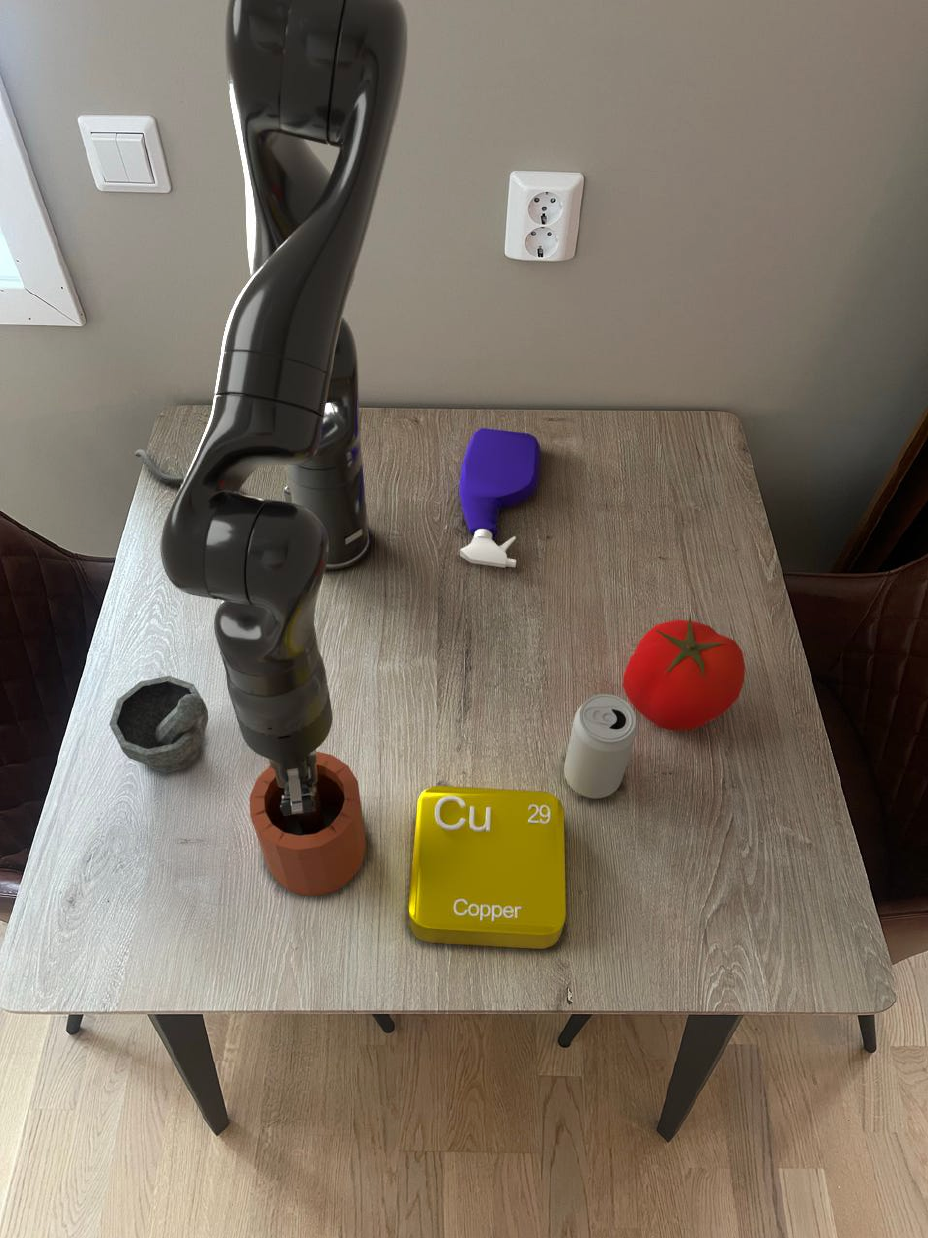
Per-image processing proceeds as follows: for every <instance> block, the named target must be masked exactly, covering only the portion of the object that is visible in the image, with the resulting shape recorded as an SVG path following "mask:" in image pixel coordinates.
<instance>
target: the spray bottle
mask: <svg viewBox="0 0 928 1238" xmlns="http://www.w3.org/2000/svg"><path fill="white" fill-rule="evenodd" d="M541 457H542V456H541V446H540V443H539V442H538V439H537V437H536V436H534V435H532V434H530V433H528V432H521V431H520V432H519V431H511V430H504V429H503V430H502V429H494V428H485V427H481V428H479V429H477V430H476V431H475V432H474V433H473V434H472V436H471V438H470V440H469V443H468V445H467V448H466V452H465V455H464V458H463V461H462V464H461V469H460V477H459V489H458V490H459V492H458V494H459V499H460V504H461V508H462V513H463V516H464V520H465V523H466V526H467V529H468V532H469V534H470V535H471V537H472V540H471V541H470V543H468V544H467V545H466V546H464V547H462V548H460V550H459V557H461V558H463V559H464V560H466V561H467V562H469V563H470V564H477V565H484V566H492V567H497V568H506V567H510V568H516V565H517V562H518V561H517V559H515V558H509V557H508V554H507V550H508V549H509V548H510V546H511V545H512V543H513V542H515V540H516V539H517V537H516V536H514V535H513V536H512V537H510V538H509V539H508V540H507V541H505V542H504V543H502V544H500V545H498V544H496V542H495V541H494V540H493V539H494V538H496V537H497V536H499V530H498V528H497V524H498V523H499V519H498V516H499V510H504V509H507V508H510V507H513V506H515V505H518V504H519V505H520V504H521V503H524V502H525V501H527V500H528V499H530V498H531V496H532V495H533V494H534V493H535V492H536V490H537V487H538V483H539V481H540V472H541V471H540V468H541V459H542V458H541Z"/></svg>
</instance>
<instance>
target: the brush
mask: <svg viewBox="0 0 928 1238" xmlns="http://www.w3.org/2000/svg"><path fill="white" fill-rule="evenodd" d="M308 765H309V763H308ZM314 787H316V792H315V796H316V800H317V810H316V811H314V812H313V814H307V815H300V816H298V815H297V814H293V815H291V816H290V817H289V819H288V821H287V823H286V827H285V833H288V834H293V835H297V836H304V835H310V834H316V833H318V832H320V831H322V830H323V829H325V828H327V827H329V826H330V825H331V824H332V823H333V822H334V821H335V819H336V818H337V817H338V816H339V815H338V813H337V812H336V811H335V810H334V809H333V808H332V807H330V806H328V805H326V804H322V803H321V802H320V797H319V792H318V787H317V783H314Z"/></svg>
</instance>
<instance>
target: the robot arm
mask: <svg viewBox="0 0 928 1238" xmlns="http://www.w3.org/2000/svg"><path fill="white" fill-rule="evenodd" d="M224 35H225V36H224V37H225V38H224V40H225V41H224V48H225V49H224V51H225V66H226V67H225V68H226V77H227V87H228V92H229V98H230V105H231V111H232V116H233V121H234V122H233V123H234V127H235V130H236V138H237V143H238V146H239V153H240V159H241V164H242V169H243V177H244V190H245V220H246V221H245V223H246V227H245V228H246V246H247V256H248V267H249V275H250V279H249V281H248V282H247V284H246V285H245V286H244V288H242V291H241V293H240V294H239V295H238V296H237V299H236V300H235V303H234V305H233V308H232V309H231V310H230V311H231V312H230V314H229V317H228V320H227V323H226V327H225V331H224V335H223V339H222V346H221V352H220V354H221V355H220V359H219V365H218V371H217V376H216V383H215V389H214V397H213V401H212V406H211V412H210V416H209V419H208V423H207V425H206V428H205V430H204V433H203V435H202V437H201V440H200V443H199V445H198V448H197V450H196V452H195V455H194V457H193V459H192V462H191V464H190V466H189V468H188V471H187V473H186V475H185V476H172V475H168V474H166V473H165V472H162V471H161V470H160V469H159V467H157V465H156V464H155V463H154V461H153V459H152V458H151V456H150V455H149V454H148V452H146V450H144V449H137V450H136V451H135V452H134V456H135V457H137V458H140V457H141V459H142V460H143V461H144V463H145V465H146V466H147V468H148V469H149V471H151V473H152V474H153V476H155V477H157V478H158V479H159V480H161V481H162V482H165V483H168V484H173V485H174V484H175V485H180V487H179V489H178V490H177V493H176V494H175V497H174V498H173V501H172V504H171V505H170V507H169V510H168V513H167V514H166V517H165V520H164V523H163V526H162V531H161V535H160V545H159V549H160V551H159V552H160V558H161V563H162V566H163V569H164V572H165V574H166V576H167V578H168V580H169V581H170V582H171V584H172V585H173V586H174V587H175V588H176V589H177V590H178V591H181V592H182V593H184V594H188V595H191V596H195V597H201V598H205V599H211V600H218V601H221V602H220V603H219V605H218V606H217V609H216V611H215V614H214V621H213V629H214V630H213V631H214V636H215V640H216V644H217V647H218V650H219V654H220V657H221V660H222V663H223V666H224V670H225V677H226V678H225V679H226V687H227V690H228V695H229V698H230V700H231V704H232V707H233V711H234V713H235V717H236V720H237V723H238V726H239V730H240V733H241V736H242V739H243V741H244V742H245V743H246V745H247V746H248V748H249V749H250V750H252V751H253V752H254V753H256V754H257V755H258V756H260V757H262V758H265V759H267V760H268V763H269V765H270V767H271V768H272V769H274V771H275V775H276V779H277V783H278V786H279V787H281V788H284V789H285V795H283V796H282V800H283V801H281V805H280V810H281V811H282V813H283V816H286V815H293V814H297V815H298V816H300V815H307V814H313V812H314V811H316V810H317V800H316V796H315V792H316V787H314V783H316V782H317V781H318V777H317V767H316V762H317V753H316V752H317V749H318V748H319V747H320V746H321V745H322V744H323V743H324V742H325V741H326V739H327V737H328V736H329V734H330V731H331V729H332V727H333V726H332V725H333V709H332V704H331V703H332V702H331V697H330V690H329V684H328V683H329V682H328V677H327V671H326V666H325V662H324V660H323V657H322V655H321V653H320V649H319V643H318V637H317V632H316V626H315V613H316V606H317V605H316V604H317V599H318V594H319V591H320V588H321V585H322V581H323V579H324V575H325V572H326V570H333V571H334V570H340V569H341V570H342V569H346V568H348V567H351V566H353V565H355V564H356V563H359V561H360V560H361V559H363V558H364V557H365V555H366V554H367V552H368V550H369V547H370V533H369V527H368V515H367V514H368V513H367V501H366V490H365V476H364V464H363V462H364V461H363V452H362V439H361V418H360V373H359V357H358V350H357V345H356V340H355V337H354V333H353V330H352V329H351V327H350V325H349V323H348V321H347V320H346V319H345V318H344V317H343V316H344V312H345V308H346V304H347V300H348V296H349V294H350V292H351V290H352V288H353V283H354V280H355V275H356V269H357V266H358V263H359V260H360V257H361V254H362V250H363V247H364V243H365V240H366V236H367V232H368V230H369V226H370V222H371V218H372V215H373V211H374V208H375V204H376V199H377V196H378V192H379V188H380V185H381V181H382V178H383V174H384V169H385V167H386V161H387V158H388V153H389V150H390V146H391V142H392V138H393V133H394V130H395V125H396V121H397V118H398V113H399V107H400V103H401V98H402V92H403V86H404V80H405V73H406V67H407V66H406V65H407V55H408V19H407V14H406V11H405V8H404V5H403V4H402V2H401V1H400V0H228V4H227V10H226V16H225V34H224ZM307 141H309V142H313V143H314V142H315V143H317V144H322V145H326V146H328V145H330V146H331V147H334V148H337V149H339V150H338V153H337V156H336V160H335V163H334V166H333V169H332V171H331V172H330V171H329V170H328V168H327V167H326V166H325V165H324V164H323V162H322V161H321V160H320V159H319V157H318V156H317V155H316V153H315V152H314V151H313V150H312V148H311V147H310V146H309V144H308V143H307ZM273 466H275V467H276V466H284V468H285V472H286V480H287V486H285V488H284V489H283V494H284V495H283V496H284V500H278V499H270V498H265V497H260V496H254V495H247V494H244V493H242V492H241V491H240V490H241V488H242V487H243V485H244V483H245V482H246V481H247V480H248V478H249V477H250V476H251V475H252V474H253V473H254V472H256V471H257V470H259V469H263V468H267V467H273ZM308 763H309V765H308Z"/></svg>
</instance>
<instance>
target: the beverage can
mask: <svg viewBox="0 0 928 1238" xmlns="http://www.w3.org/2000/svg"><path fill="white" fill-rule="evenodd" d="M637 735H638V720H637V717H636V713H635V711H634V709H633V707H632V706H631V705H630V703H628V701H626V700H625V699H623V698H622V697H619V696H617V695H614V694H610V693H602V694H601V693H600V694H599V693H598V694H594V695H592V696H590V697H589V698H588V699H586V700H585V701H584V702H583V704H581V705H580V706H579V707H578V708H577V710H576V712H575V715H574V719H573V724H572V728H571V732H570V737H569V741H568V745H567V746H568V747H567V750H566V755H565V760H564V765H563V774H564V778H565V781H566V782H567V784H568V786H569V787H570V788H571V789H572V790H573V791H574V792H575V793H577V794H578V795H580V796H582V797H585V798H587V799H588V798H589V799H602V798H606V797H609V796H611V795H612V794H614V793H615V792H616V791H617V789H619V788H620V785H621V784H622V781H623V779H624V778H623V777H624V775H625V771H626V768H627V766H628V762H629V760H630V759H629V758H630V756H631V753H632V750H633V746H634V744H635V740H636V737H637Z"/></svg>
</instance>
